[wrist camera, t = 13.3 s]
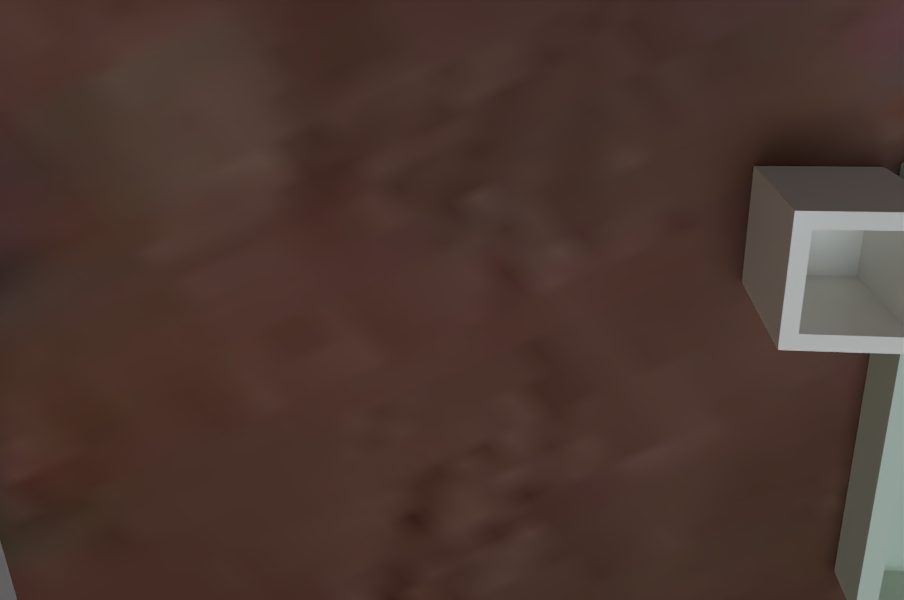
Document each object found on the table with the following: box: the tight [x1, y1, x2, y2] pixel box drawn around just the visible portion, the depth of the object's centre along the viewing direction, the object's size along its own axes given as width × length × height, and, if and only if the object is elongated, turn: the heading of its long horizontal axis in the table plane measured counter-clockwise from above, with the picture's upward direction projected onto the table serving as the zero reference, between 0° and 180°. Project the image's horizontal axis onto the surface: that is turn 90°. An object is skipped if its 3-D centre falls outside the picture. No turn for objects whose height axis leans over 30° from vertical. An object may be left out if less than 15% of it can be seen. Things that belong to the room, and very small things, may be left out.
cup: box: [742, 166, 904, 354], centre depth 36 cm, size 6×6×8 cm
